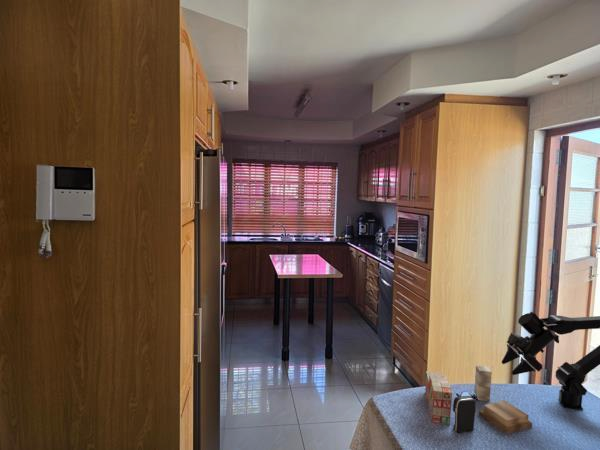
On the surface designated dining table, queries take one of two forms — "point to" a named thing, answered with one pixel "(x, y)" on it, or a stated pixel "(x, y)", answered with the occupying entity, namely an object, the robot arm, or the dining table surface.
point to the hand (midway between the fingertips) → (507, 368)
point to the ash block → (483, 383)
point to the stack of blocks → (438, 397)
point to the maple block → (505, 413)
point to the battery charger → (464, 413)
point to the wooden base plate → (501, 427)
